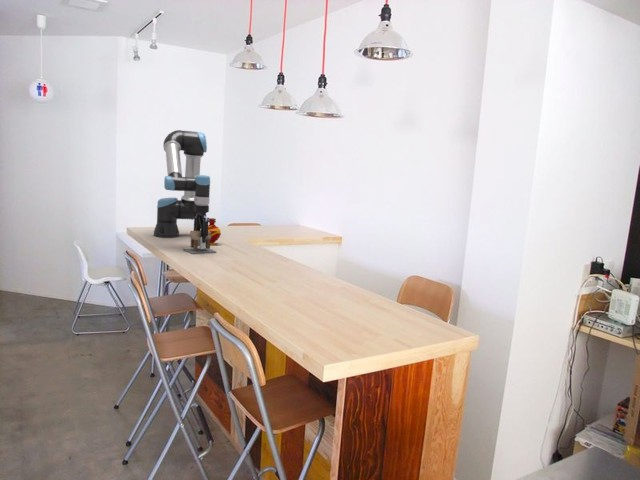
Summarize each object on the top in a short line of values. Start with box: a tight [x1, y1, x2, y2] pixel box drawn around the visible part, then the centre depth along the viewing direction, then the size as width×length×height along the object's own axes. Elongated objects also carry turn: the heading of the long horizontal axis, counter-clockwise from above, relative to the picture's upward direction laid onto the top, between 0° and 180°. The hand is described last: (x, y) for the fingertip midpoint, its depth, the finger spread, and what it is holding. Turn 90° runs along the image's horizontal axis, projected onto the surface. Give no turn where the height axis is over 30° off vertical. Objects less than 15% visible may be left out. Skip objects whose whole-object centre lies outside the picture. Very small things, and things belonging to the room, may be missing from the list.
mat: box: [183, 247, 217, 255], centre depth 261 cm, size 11×14×1 cm
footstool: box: [189, 230, 211, 249], centre depth 260 cm, size 9×6×9 cm, turn 128°
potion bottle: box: [208, 217, 222, 246], centre depth 283 cm, size 10×10×15 cm
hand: (200, 247), depth 261 cm, fingers closed on footstool, 6 cm apart
